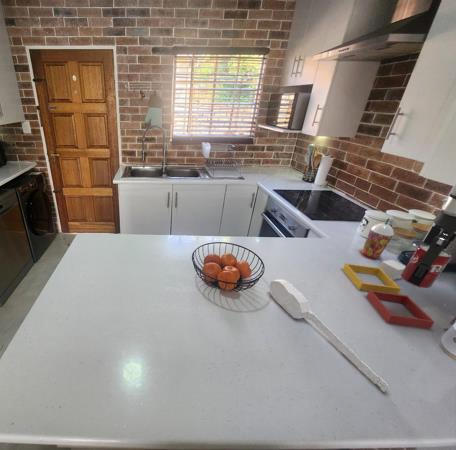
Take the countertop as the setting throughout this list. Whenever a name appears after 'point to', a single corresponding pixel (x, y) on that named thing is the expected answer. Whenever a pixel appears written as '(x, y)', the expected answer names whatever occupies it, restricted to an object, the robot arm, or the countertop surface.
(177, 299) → the countertop surface
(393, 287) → the yellow bin
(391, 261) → the white cube
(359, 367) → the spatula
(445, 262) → the soda can
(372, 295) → the red bin
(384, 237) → the smoothie
